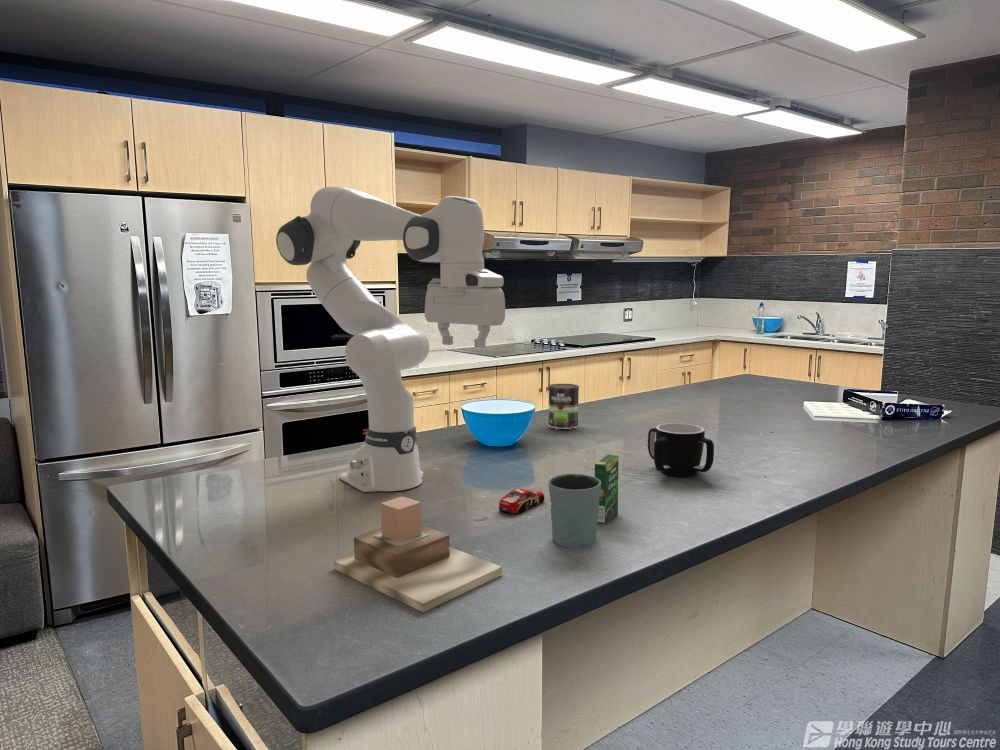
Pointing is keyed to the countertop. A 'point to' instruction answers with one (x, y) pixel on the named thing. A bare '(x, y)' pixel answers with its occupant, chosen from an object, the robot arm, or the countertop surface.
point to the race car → (520, 500)
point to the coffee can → (563, 406)
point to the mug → (679, 449)
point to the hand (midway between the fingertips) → (463, 346)
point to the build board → (425, 579)
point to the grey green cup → (574, 509)
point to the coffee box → (607, 488)
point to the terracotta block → (401, 519)
